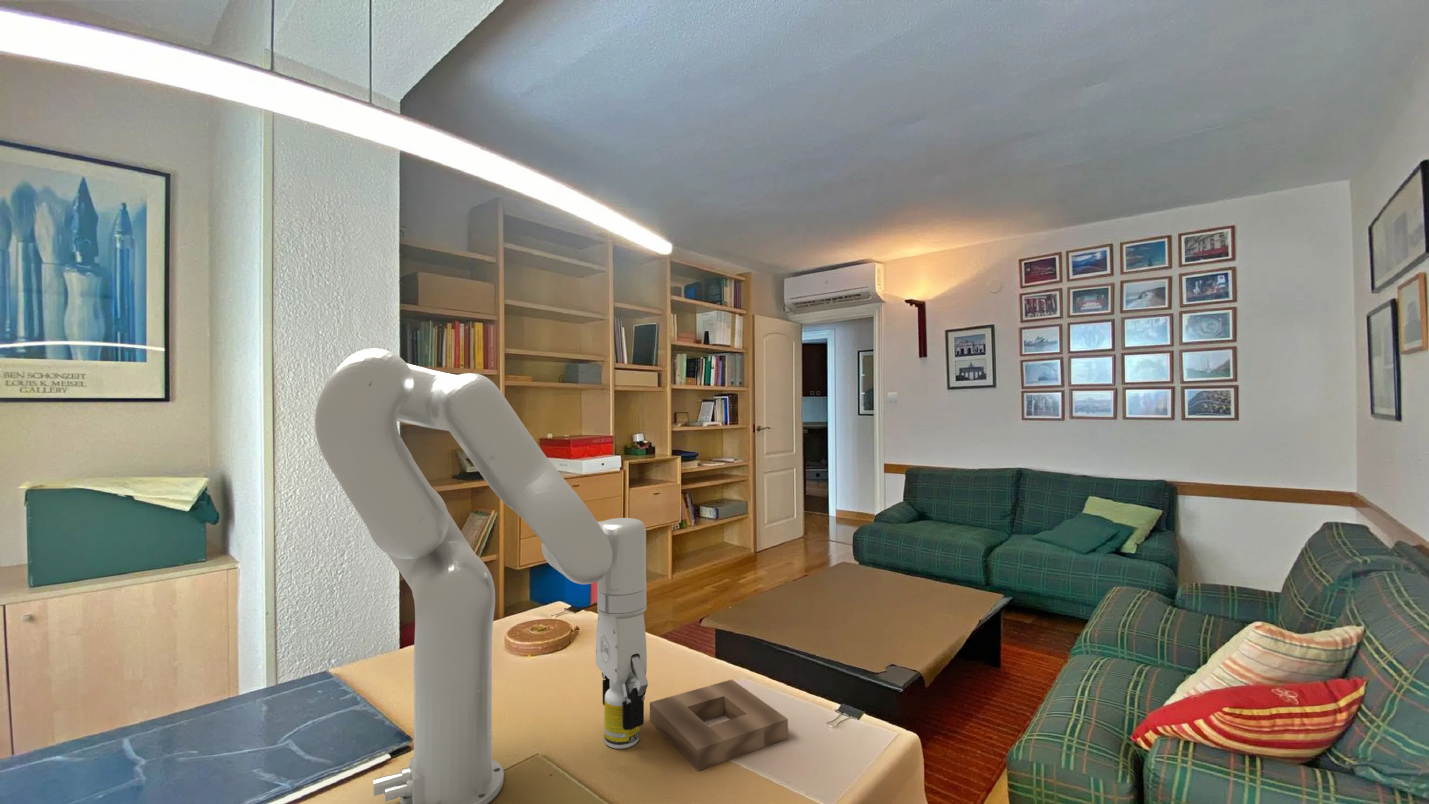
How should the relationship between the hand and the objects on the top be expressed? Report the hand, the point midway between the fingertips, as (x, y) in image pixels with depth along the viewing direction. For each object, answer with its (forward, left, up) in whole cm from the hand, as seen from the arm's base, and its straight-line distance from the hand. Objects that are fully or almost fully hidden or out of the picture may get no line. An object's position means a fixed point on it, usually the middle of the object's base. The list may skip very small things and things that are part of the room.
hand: (622, 714), depth 92 cm
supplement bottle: (0, 0, -4) cm, 4 cm away
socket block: (+14, -5, -4) cm, 15 cm away
